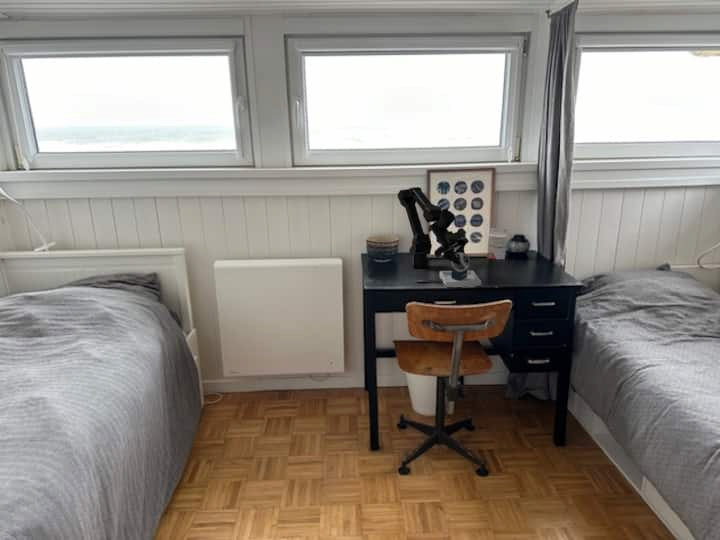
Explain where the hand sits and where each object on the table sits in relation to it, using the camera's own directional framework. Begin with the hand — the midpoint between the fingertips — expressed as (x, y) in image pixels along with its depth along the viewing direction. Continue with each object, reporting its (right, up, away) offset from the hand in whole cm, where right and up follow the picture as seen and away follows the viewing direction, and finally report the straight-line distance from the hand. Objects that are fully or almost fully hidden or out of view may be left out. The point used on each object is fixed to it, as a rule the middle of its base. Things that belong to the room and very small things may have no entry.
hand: (463, 263), depth 206 cm
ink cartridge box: (+24, +3, +37) cm, 45 cm away
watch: (-1, -6, +3) cm, 7 cm away
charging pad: (-7, -8, +3) cm, 11 cm away
